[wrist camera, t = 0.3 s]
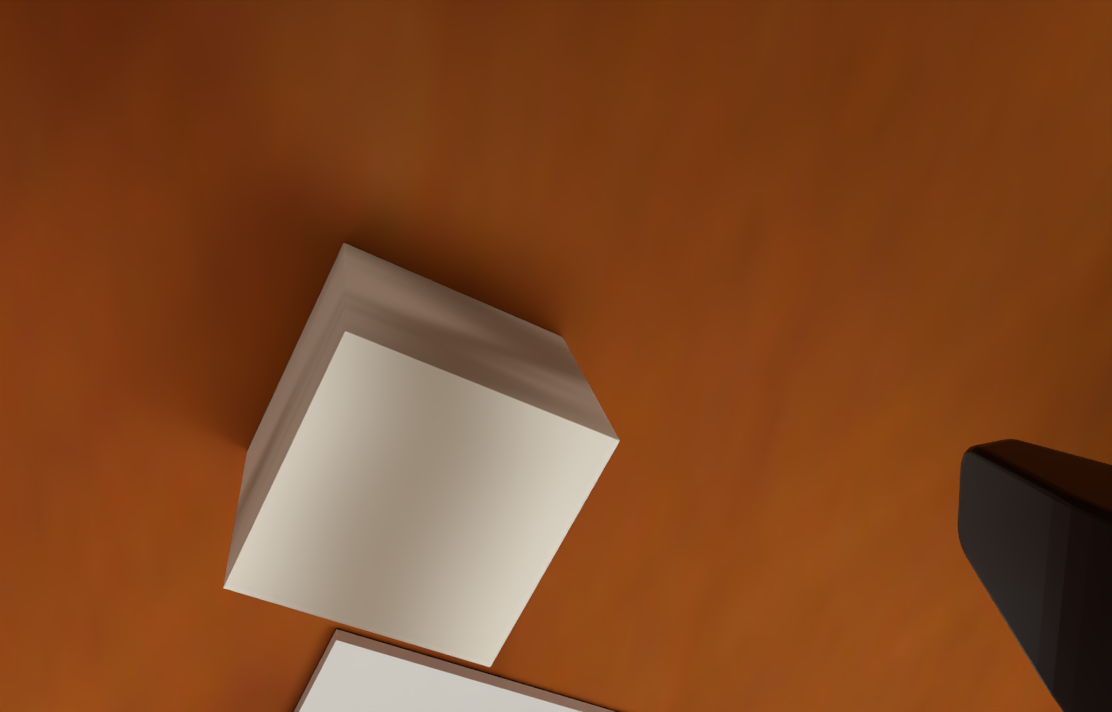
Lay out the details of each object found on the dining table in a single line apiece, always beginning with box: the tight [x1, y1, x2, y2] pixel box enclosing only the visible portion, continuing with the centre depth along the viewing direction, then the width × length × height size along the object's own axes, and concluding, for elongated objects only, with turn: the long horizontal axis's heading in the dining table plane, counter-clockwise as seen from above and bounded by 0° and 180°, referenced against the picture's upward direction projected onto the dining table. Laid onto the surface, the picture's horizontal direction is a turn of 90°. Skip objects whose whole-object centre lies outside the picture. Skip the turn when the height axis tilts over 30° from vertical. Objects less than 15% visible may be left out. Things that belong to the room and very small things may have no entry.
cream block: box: [223, 243, 620, 667], centre depth 20 cm, size 5×5×5 cm
